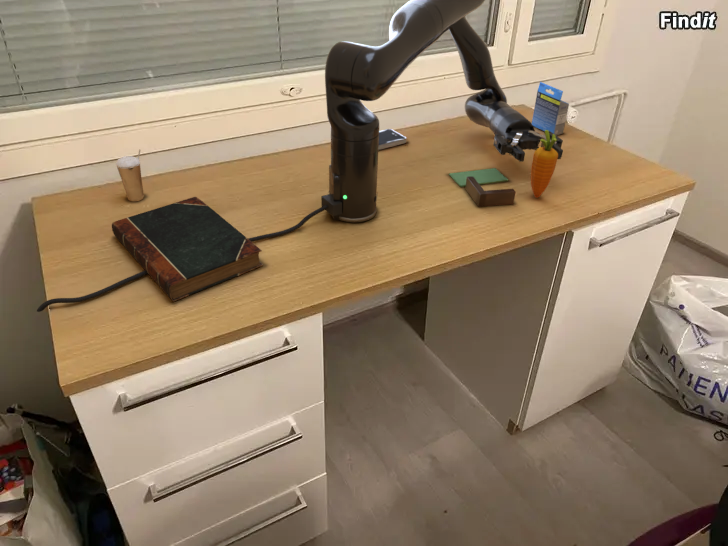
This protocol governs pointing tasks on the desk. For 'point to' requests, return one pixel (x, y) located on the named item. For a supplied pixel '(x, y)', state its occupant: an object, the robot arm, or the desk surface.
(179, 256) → the book
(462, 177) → the rag
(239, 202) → the desk surface
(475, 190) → the corner stop
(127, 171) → the milkshake
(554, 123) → the label tape box
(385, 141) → the smartphone
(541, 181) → the carrot
